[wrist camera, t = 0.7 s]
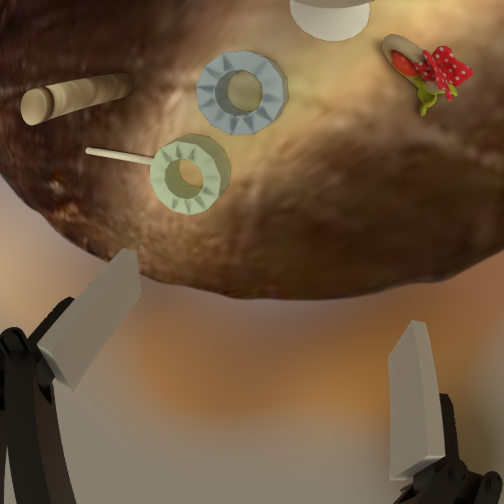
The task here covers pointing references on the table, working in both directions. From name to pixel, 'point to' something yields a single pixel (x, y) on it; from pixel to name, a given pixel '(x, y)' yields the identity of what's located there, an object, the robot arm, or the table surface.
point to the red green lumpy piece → (426, 68)
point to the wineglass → (331, 17)
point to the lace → (119, 155)
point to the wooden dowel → (73, 96)
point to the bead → (175, 188)
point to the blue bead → (218, 104)
